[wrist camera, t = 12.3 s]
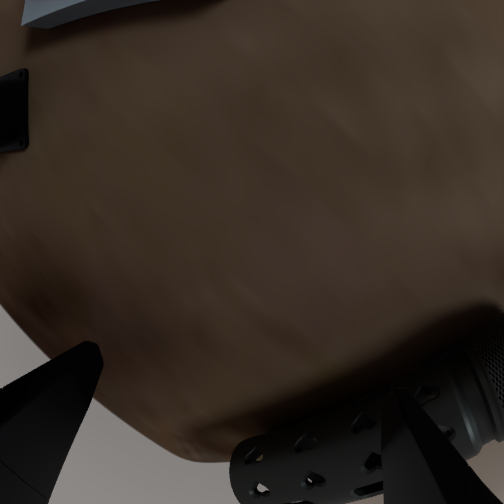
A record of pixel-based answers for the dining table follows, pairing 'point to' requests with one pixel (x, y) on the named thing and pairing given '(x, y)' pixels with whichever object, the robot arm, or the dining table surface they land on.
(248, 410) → the dining table surface
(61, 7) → the socket plate
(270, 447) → the muzzle brake
